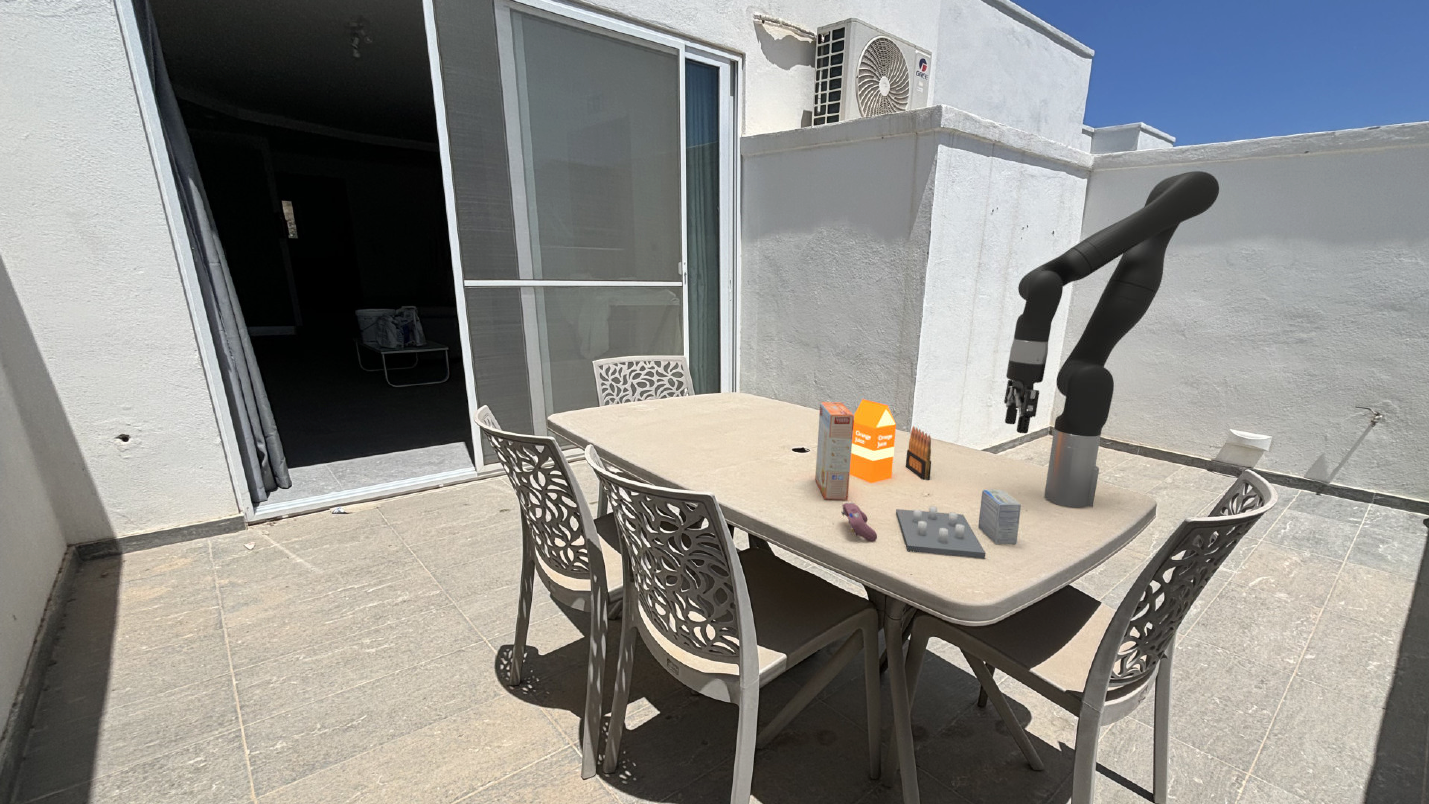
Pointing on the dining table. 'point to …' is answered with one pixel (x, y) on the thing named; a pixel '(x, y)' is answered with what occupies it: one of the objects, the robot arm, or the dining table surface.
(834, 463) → the cracker box
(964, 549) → the stub jig
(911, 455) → the ammunition clip
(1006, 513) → the medicine box
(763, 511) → the dining table surface
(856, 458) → the orange juice
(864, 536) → the video game controller
